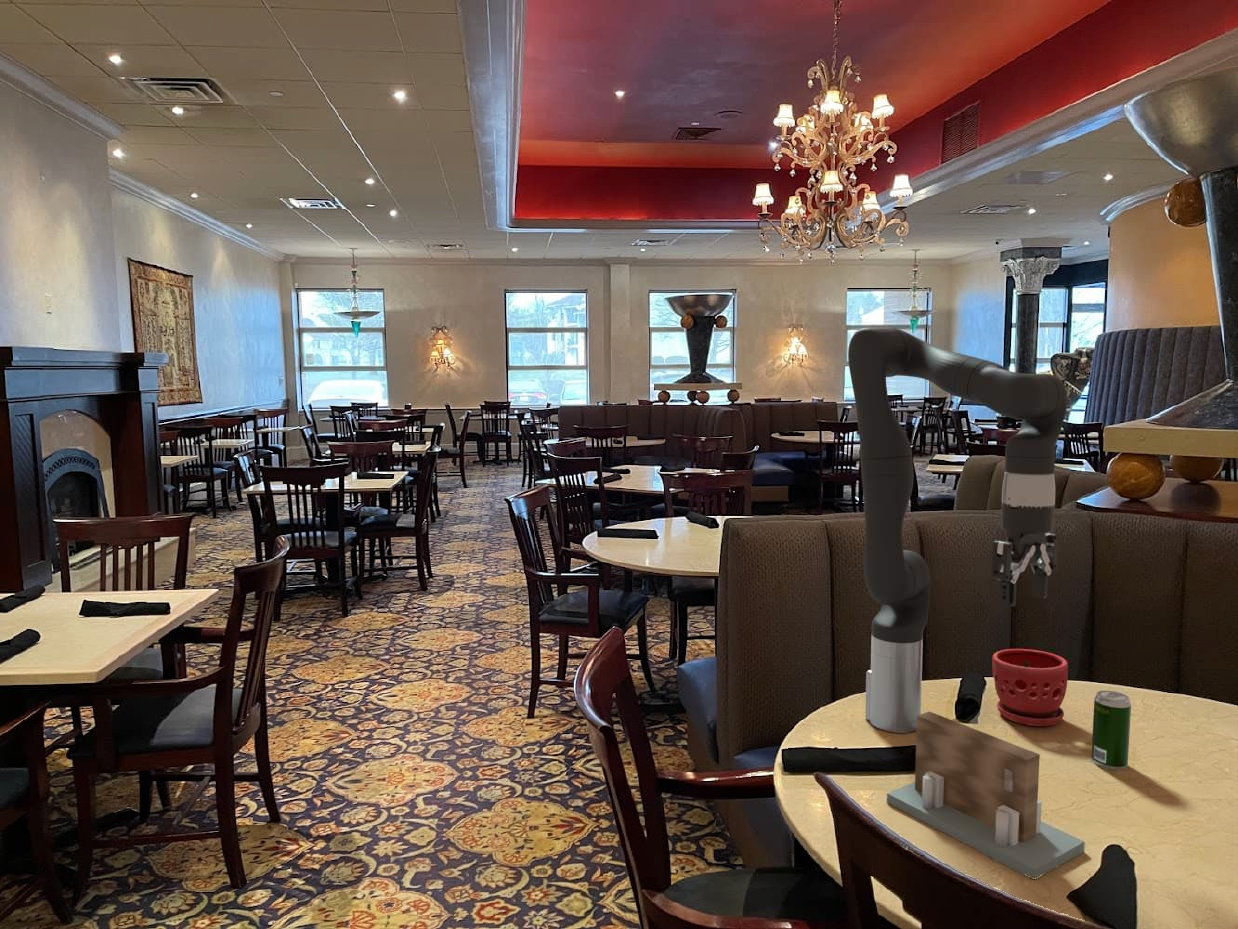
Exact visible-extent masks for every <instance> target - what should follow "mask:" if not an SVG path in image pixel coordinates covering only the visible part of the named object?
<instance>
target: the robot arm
mask: <svg viewBox="0 0 1238 929" xmlns="http://www.w3.org/2000/svg"><path fill="white" fill-rule="evenodd" d="M847 360H848V369H849V374H850V380H851V386H852V391H853V396H854V401H855V402H854V403H855V408H856V417H857V427H858V428H857V429H858V436H859V455H860V457H859V458H860V468H861V469H860V470H861V472H860V473H861V481H862V491H863V492H862V493H863V505H864V506H863V509H864V523H865V524H864V526H865V540H864V542H865V543H864V580H865V582H864V583H865V585H866V588H867V591H868V593H869V594H870V596H871V597H872V598H873V600H875V601H876V602H877V603H879V604H882V606H881V608H880V609H879V611H878V613H877V614H876V615H875V616H874V618H873V619H872V622H871V646H870V669H868V670H867V671H866V676H865V712H864V713H865V715H864V716H865V717H864V718H865V719H866V720H868V721H869V723H870V724H871V725H872V726H873V727H875V728H878V729H879V730H883V731H886V732H889V733H891V732H892V733H896V734H897V733H899V734H900V733H901V734H902V733H903V734H907V733H913V732H917V716H918V715H920V714H922V713H921V711H922V682H923V681H922V680H923V679H922V678H923V674H922V673H923V646H924V645H923V640H924V639H923V638H924V630H925V628H926V625H927V623H928V618H929V610H930V596H931V575H930V574H931V572H930V569H929V565H928V564H927V562H926V560H925V559H924V558H923V556H921V554H919V553H917V552H916V551H913V550H907V549H904V546H903V544H904V543H903V525H904V520H905V516H906V512H907V509H908V505H909V503H910V499H911V496H912V492H913V487H914V478H915V477H914V475H915V474H914V463H913V450H912V446H911V443H910V440H909V438H908V436H907V434H906V432H905V430H904V428H903V427H902V425H901V424H900V421H899V420H898V418H897V417H896V414H895V413H894V412H893V409H892V407H891V404H890V401H889V396H888V394H889V393H888V388H887V378H893V377H895V376H900V377H901V376H902V377H913V378H919V379H923V380H926V381H928V382H931V383H932V384H934V385H935V386H937V388H939V389H940V390H942V391H943V392H946V393H948V394H950V395H953V396H955V397H958V398H961V399H964V400H967V401H970V402H973V403H976V404H980V405H983V406H984V407H986V408H988V409H989V410H991V411H993V412H995V413H997V414H999V415H1001V416H1005V417H1007V418H1011V419H1014V420H1015V419H1016V420H1022V421H1021V425H1020V429H1019V431H1018V432H1017V433H1015V434H1014V435H1012V436H1010V437H1009V438H1008V439H1007V441H1006V443H1005V444H1006V445H1005V451H1004V454H1005V458H1004V476H1003V481H1002V488H1001V509H1000V510H1001V512H1000V513H1001V514H1000V515H1001V516H1000V526H1001V529H1002V530H1003V531H1006V533H1007V538H1006V540H1005V541H1002V540H994V541H993V544H992V546H993V547H992V557H991V571H990V577H991V579H996V580H998V581H999V582H1000V588H999V589H1000V593H999V594H1000V596H999V599H1000V602H999V603H1000V604H1001V605H1002V606H1006V607H1009V608H1012V607H1015V606H1016V605H1017V590H1018V589H1017V586H1018V585H1017V581H1018V579H1019V576H1020V574H1021V573H1023V572H1025V570H1026V568H1027V566H1028V567H1029V566H1030V568H1031V570H1032V572H1033V573H1032V575H1031V577H1032V578H1031V582H1032V583H1031V596H1032V597H1034V598H1036V599H1037V598H1038V599H1041V600H1042V599H1046V598H1047V597H1048V583H1049V579H1048V578H1049V576H1051V574H1052V571H1056V570H1058V566H1059V565H1058V564H1059V563H1058V562H1059V561H1058V558H1059V554H1058V553H1059V535H1058V534H1057V533H1052V532H1053V531H1054V528H1055V507H1056V506H1055V504H1056V481H1055V468H1056V467H1055V464H1056V463H1055V462H1056V446H1057V442H1058V440H1059V437H1060V435H1061V430H1062V427H1063V425H1064V420H1065V419H1066V418H1065V417H1066V413H1067V408H1068V394H1067V389H1066V386H1065V384H1064V382H1063V381H1062V379H1060V378H1059V377H1057V375H1056V376H1055V375H1054V374H1050V373H1020V372H1015V371H1010V370H1007V369H1006V367H1004V366H1003V365H1001V364H1000V363H996V362H994V361H989V360H986V359H982V358H979V357H975V356H971V355H967V354H963V353H960V352H954V351H951V350H947V349H945V348H941V347H940V346H936V345H933V344H931V343H929V342H927V341H924V340H922V338H918V337H916V336H915V335H913V334H911V333H909V332H907V331H905V330H902V329H900V328H896V327H864V328H861V329H858V330H857V331H856V332H854V333H853V335H852V337H851V339H850V341H849V345H848V351H847ZM1049 556H1050V558H1049ZM1000 565H1001V568H1000ZM999 569H1000V570H999ZM1011 571H1012V572H1011Z"/></svg>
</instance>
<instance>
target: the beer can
mask: <svg viewBox="0 0 1238 929" xmlns="http://www.w3.org/2000/svg"><path fill="white" fill-rule="evenodd" d="M1095 694H1096V695H1095V696H1094V700H1093V703H1094V704H1093V720H1092V722H1093V724H1092V738H1091V739H1092V741H1091V760H1092V761H1093V763H1094V765H1096V766H1098V767H1099V768H1102V769H1106V770H1110V771H1122V770H1125V769H1126V768H1127V766H1128V764H1129V750H1130V732H1131V731H1130V730H1131V717H1132V716H1131V712H1132V703H1131V701H1130V700H1131V698H1130V696H1128V695H1127V694H1125V693H1122V692H1120V691H1119V692H1118V691H1114V690H1098V691H1096V693H1095Z"/></svg>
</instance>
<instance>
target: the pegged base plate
mask: <svg viewBox="0 0 1238 929" xmlns="http://www.w3.org/2000/svg"><path fill="white" fill-rule="evenodd" d="M943 793H944V777H942V776H940V775H937V774H935V773H933V772H931V771H930V772H927V773H925V776H923V792H922V793H921V792H919V791H917V790H915V781H914V782H911V783H910V784H905V786H904V785H903V786H901V787H898V788H897V789H894V790H892V791H890V792H887V793H886V803H887V804H890V805H891V806H893V807H895V808H896V809H899V810H901V811H903V812H904V813H906V814H908V815H910V816H912V817H914V818H916V819H918V820H919V821H922V822H923V823H925V824H927V825H929V826H930V827H933V828H934V829H936V830H939V831H940V832H942V833H944V834H946V835H948V836H950V837H952V838H953V839H956V840H957V841H959V842H961V843H963V844H965V845H967V846H969V847H970V848H973V849H974V850H977V851H978V852H980V853H983V854H984V855H986V856H987V857H990V858H991V859H993V860H995V861H997V862H999V863H1001V864H1003V865H1004V866H1007V867H1008V868H1011V869H1012V870H1014V871H1016V872H1018V873H1020V874H1022V875H1024V874H1026V875H1027V876H1030V877H1031V878H1034V879H1035V878H1037V877H1039V876H1040V875H1042V874H1044V875H1046V874H1048V873H1049V871H1050V870H1051V871H1053V870H1055V869H1056V867H1057V866H1058V867H1060V866H1062V865H1063V864H1062V863H1064V862H1065V863H1067V862H1069V861H1071V860H1072V859H1074V858H1076V857H1078V856H1079V855H1081V854H1083V853H1084V852H1085V846H1086V844H1085V843H1086V842H1085V840H1083V839H1080V838H1077V837H1076V836H1074V835H1071V834H1069V833H1067V832H1065V831H1063V830H1061V829H1059V828H1056V827H1054V826H1052V825H1050V824H1047V823H1045V822H1043V821H1041V820H1042V804H1043V803H1042V802H1043V801H1042V800H1039V799H1038V802H1037V824H1036V836H1035V837H1033V838H1032V839H1030V840H1028V841H1026V842H1024V843H1023V842H1021V841H1019V840H1018V830H1019V812H1017V811H1015V810H1013V809H1011V808H1009V807H1007V806H1004V805H1002V806H1000V807H998V810H997V811H996V828H993V827H991V826H989V825H986V824H984V823H982V822H980V821H978V820H976V819H974V818H972V817H970V816H968V815H966V814H964V813H962V812H960V811H958V810H956V809H954V808H952V807H950V806H948V805H946V804H944V803H943ZM1066 861H1067V862H1066ZM1065 863H1064V864H1065ZM1061 864H1062V865H1061ZM1059 865H1060V866H1059ZM1058 867H1057V868H1058ZM1054 868H1055V869H1054ZM1052 869H1053V870H1052ZM1051 871H1050V872H1051ZM1047 872H1048V873H1047ZM1045 873H1046V874H1045ZM1027 876H1026V877H1027ZM1031 878H1030V879H1031ZM1039 878H1040V877H1039ZM1037 879H1038V878H1037Z"/></svg>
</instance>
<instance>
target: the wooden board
mask: <svg viewBox="0 0 1238 929" xmlns="http://www.w3.org/2000/svg"><path fill="white" fill-rule="evenodd" d="M915 734H916V740H915V742H916V743H915V769H914V770H915V774H914V776H915V778H914V782H915V790H917V791H919V792H921V793H922V792H923V776H925V773H927V772H930V771H931V772H933V773H935V774H937V775H940V776H942V777H944V793H943V803H944V804H946V805H948V806H950V807H952V808H954V809H956V810H958V811H960V812H962V813H964V814H966V815H968V816H970V817H972V818H974V819H976V820H978V821H980V822H982V823H984V824H986V825H989V826H991V827H993V828H996V811H997V810H998V807H1000V806H1002V805H1004V806H1007V807H1009V808H1011V809H1013V810H1015V811H1017V812H1019V830H1018V840H1019V841H1021V842H1023V843H1024V842H1026V841H1028V840H1030V839H1032V838H1033V837H1035V836H1036V824H1037V802H1038V800H1039V798H1038V795H1039V780H1040V779H1039V776H1040V775H1039V774H1040V755H1041V754H1039V753H1037V752H1034V751H1032V750H1030V749H1027V748H1024V747H1021V746H1019V745H1016V744H1014V743H1011V742H1008V740H1007V741H1006V740H1004V739H1002V738H998V737H996V736H994V735H991V734H989V733H986V732H984V731H980V730H978V729H976V728H973V727H971V726H968V725H965V724H963V723H960V722H957V721H955V720H952V719H950V718H948V717H944V716H943V715H940V714H937V713H934V712H932V711H927V712H923V713H921V714H920V715H918V716H917V730H916V733H915Z"/></svg>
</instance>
